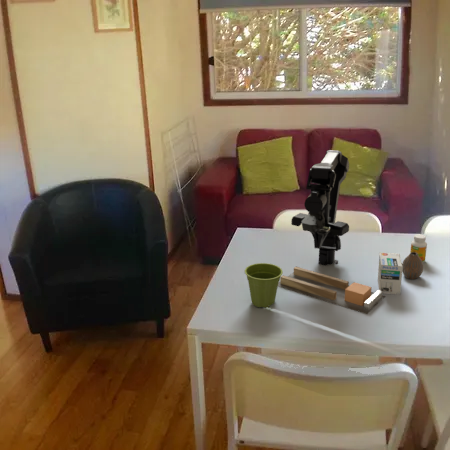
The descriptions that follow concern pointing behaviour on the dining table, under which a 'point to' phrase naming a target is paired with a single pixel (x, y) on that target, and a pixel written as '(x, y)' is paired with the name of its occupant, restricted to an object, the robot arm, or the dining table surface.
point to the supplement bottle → (419, 246)
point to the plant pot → (263, 283)
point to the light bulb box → (390, 273)
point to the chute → (320, 288)
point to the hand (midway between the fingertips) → (318, 247)
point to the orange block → (357, 293)
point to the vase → (412, 266)
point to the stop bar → (372, 300)
